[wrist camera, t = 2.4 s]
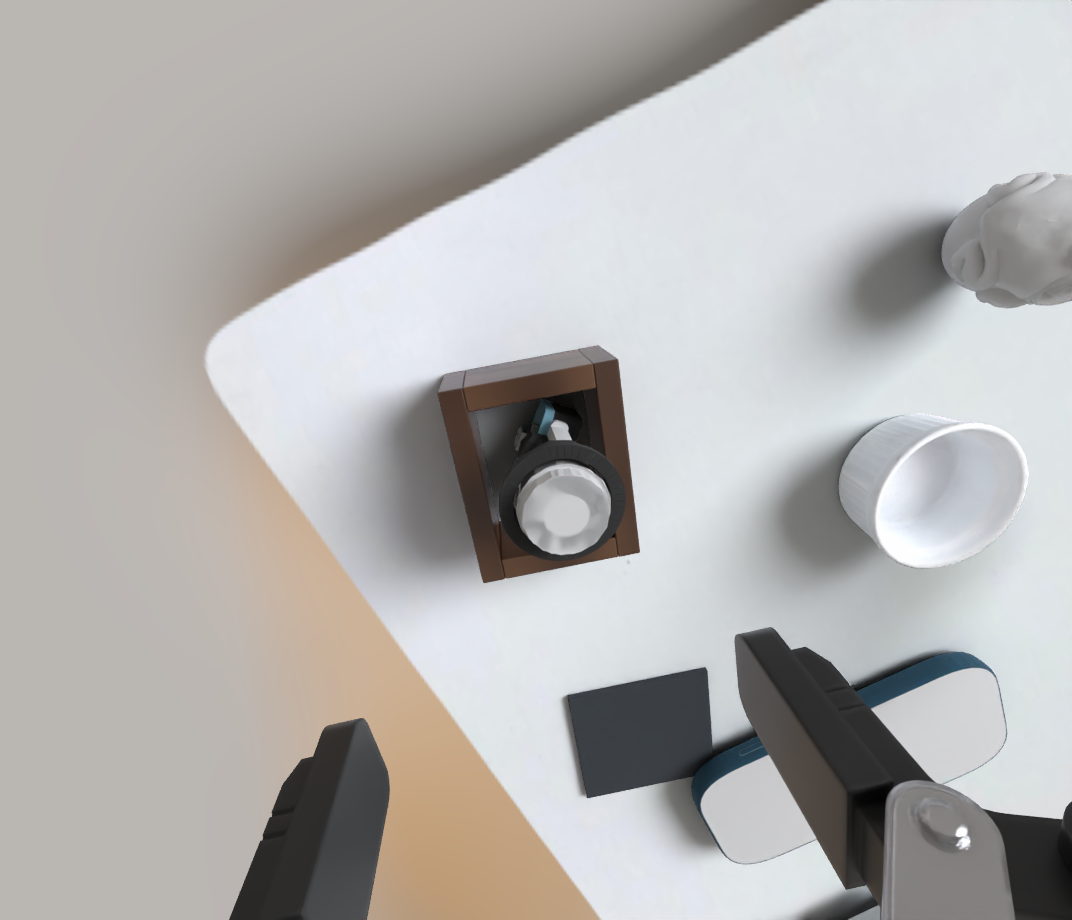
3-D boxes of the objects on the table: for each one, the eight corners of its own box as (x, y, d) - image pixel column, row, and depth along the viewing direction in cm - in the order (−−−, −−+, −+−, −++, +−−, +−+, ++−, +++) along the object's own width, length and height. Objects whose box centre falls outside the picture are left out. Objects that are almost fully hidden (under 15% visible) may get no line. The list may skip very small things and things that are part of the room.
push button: (561, 511, 32) (591, 611, 23) (477, 487, 31) (473, 583, 22) (600, 410, 30) (652, 475, 21) (512, 381, 29) (524, 436, 20)
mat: (586, 793, 41) (587, 798, 40) (567, 695, 37) (568, 699, 37) (712, 767, 41) (714, 772, 41) (705, 667, 37) (707, 671, 37)
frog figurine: (984, 319, 30) (1120, 334, 24) (884, 279, 29) (1001, 283, 23) (1048, 209, 29) (1215, 193, 22) (946, 161, 27) (1091, 128, 21)
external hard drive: (723, 851, 44) (734, 876, 42) (675, 765, 40) (685, 789, 38) (990, 733, 43) (1014, 754, 41) (969, 631, 38) (994, 650, 37)
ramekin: (830, 549, 35) (875, 586, 31) (823, 425, 32) (873, 449, 28) (960, 514, 35) (1022, 547, 31) (966, 387, 32) (1036, 404, 28)
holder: (483, 542, 32) (483, 583, 28) (443, 374, 29) (436, 392, 24) (620, 515, 33) (640, 552, 28) (598, 345, 29) (618, 358, 25)
